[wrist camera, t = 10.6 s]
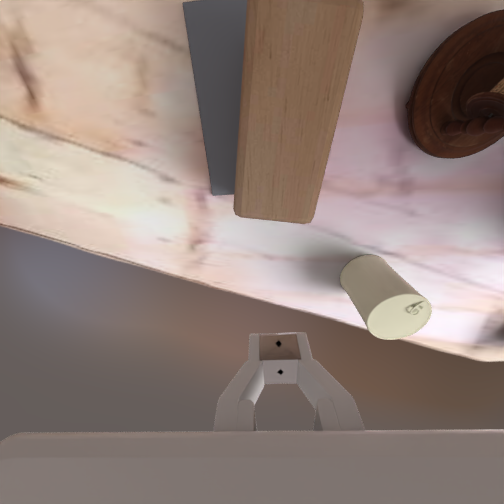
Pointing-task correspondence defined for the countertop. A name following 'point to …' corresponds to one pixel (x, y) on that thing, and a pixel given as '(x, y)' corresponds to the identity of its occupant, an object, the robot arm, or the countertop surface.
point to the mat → (218, 81)
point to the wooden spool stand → (461, 92)
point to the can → (384, 298)
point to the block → (291, 102)
